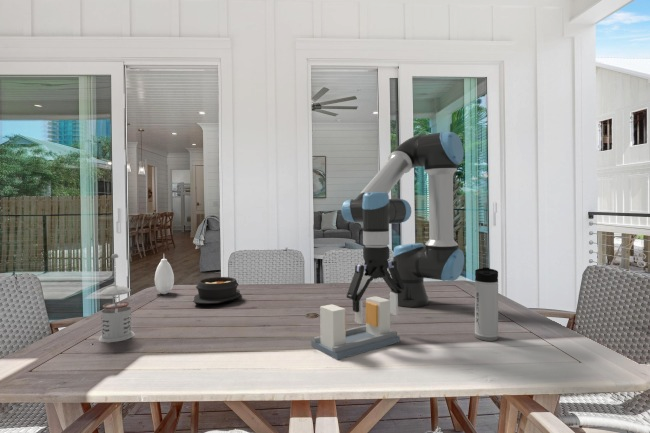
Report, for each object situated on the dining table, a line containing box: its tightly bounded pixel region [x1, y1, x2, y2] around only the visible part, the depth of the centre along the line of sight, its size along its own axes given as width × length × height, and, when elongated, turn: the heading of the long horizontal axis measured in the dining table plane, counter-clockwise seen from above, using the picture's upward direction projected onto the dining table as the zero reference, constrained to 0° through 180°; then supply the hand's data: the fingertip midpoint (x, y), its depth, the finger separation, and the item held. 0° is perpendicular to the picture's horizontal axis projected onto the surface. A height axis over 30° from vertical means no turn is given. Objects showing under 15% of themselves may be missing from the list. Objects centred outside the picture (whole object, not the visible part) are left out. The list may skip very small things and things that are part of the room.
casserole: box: [192, 276, 242, 305], centre depth 163 cm, size 25×19×8 cm
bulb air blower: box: [154, 253, 175, 295], centre depth 176 cm, size 8×8×18 cm
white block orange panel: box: [365, 296, 391, 336], centre depth 115 cm, size 6×5×10 cm
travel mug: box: [474, 266, 499, 342], centre depth 115 cm, size 6×7×20 cm
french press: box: [98, 253, 136, 343], centre depth 119 cm, size 10×12×25 cm
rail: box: [310, 304, 401, 361], centre depth 111 cm, size 12×22×12 cm, turn 124°
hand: (376, 318), depth 115 cm, fingers open, 13 cm apart
